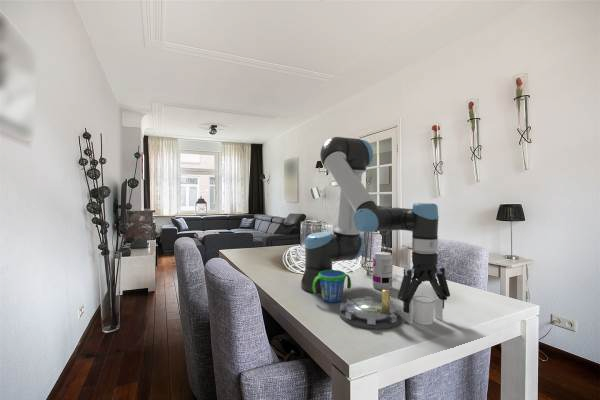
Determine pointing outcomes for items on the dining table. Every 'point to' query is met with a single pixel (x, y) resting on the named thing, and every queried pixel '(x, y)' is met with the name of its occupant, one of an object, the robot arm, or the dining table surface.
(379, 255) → the supplement can
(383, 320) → the sprocket
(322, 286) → the snack cup
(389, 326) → the sprocket base
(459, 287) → the dining table surface
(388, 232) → the geometric lantern
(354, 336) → the dining table surface
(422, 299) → the shot glass
